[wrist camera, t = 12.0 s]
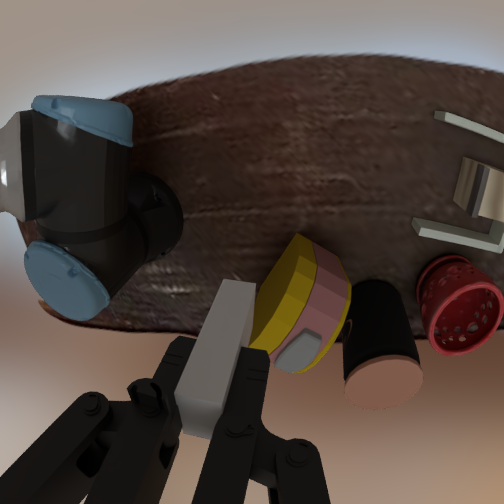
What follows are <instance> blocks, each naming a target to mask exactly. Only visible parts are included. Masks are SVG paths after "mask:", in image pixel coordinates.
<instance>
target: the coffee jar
mask: <svg viewBox="0 0 504 504" xmlns="http://www.w3.org/2000/svg"><path fill="white" fill-rule="evenodd" d="M342 342H343V368H344V380H345V390H344V394H345V396H346V398H347V400H348V401H349V402H350V403H352V404H353V405H354V406H357V407H360V408H363V409H372V410H378V409H386V408H390V407H394V406H397V405H399V404H401V403H403V402H405V401H407V400H408V399H410V398H411V397H412V396H413V395H415V394H416V393H417V391H418V390H419V389H420V387H421V385H422V382H423V379H424V377H423V370H422V368H421V366H420V360H419V355H418V351H417V347H416V344H415V341H414V337H413V334H412V331H411V327H410V324H409V321H408V318H407V315H406V311H405V308H404V305H403V302H402V299H401V297H400V295H399V293H398V292H397V291H396V289H395V288H393V287H391V286H390V285H388V284H386V283H382V282H377V281H376V282H366V283H364V284H361V285H359V286H357V287H356V288H354V289H353V290H351V303H350V306H349V310H348V313H347V316H346V319H345V322H344V325H343V327H342Z"/></svg>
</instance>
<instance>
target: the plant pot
mask: <svg viewBox="0 0 504 504" xmlns="http://www.w3.org/2000/svg"><path fill="white" fill-rule="evenodd" d="M488 291H489V292H488ZM494 295H495V297H494ZM416 298H417V302H418V304H419V306H420V311H421V317H422V323H423V327H424V330H425V333H426V335H427V338H428V340H429V342H430V344H431V346H432V347H433V348H434V350H435V351H437V352H438V353H440V354H442V355H446V356H459V355H463V354H466V353H469V352H471V351H473V350H475V349H477V348H478V347H480V346H481V345H482V344H484V343H485V342H486V341H487V340H488V339H489V338H490V337H491V336H492V335H493V333H494V332H495V331H496V329H497V327H498V326H499V324H500V321H501V319H502V316H503V312H504V298H503V295H502V293H501V291H500V289H499V288H498V287H497V285H496V284H495V283H494V282H493V281H492V279H491V278H490V277H489V276H488V275H486V274H485V273H484V272H483V271H481V270H480V269H478V268H477V267H475V266H473V265H472V264H471V262H470V261H469V260H467V259H466V258H464V257H462V256H459V255H447V256H443V257H440V258H438V259H436V260H435V261H433V262H432V263H431V264H429V265H428V266H427V268H426V269H425V270H424V271H423V273H422V274H421V276H420V278H419V280H418V283H417V287H416ZM490 301H491V303H492V308H491V309H490V306H489V304H490ZM484 304H485V310H483V305H484ZM478 312H479V317H478V318H476V314H477V313H478ZM486 316H487V317H488V320H487V322H486V323H485V324H484V322H483V321H484V318H485V317H486ZM472 324H477V325H478V330H477V331H476V332H475V333H473V334H470V333H468V331H467V329H468V327H469V326H470V325H472ZM456 328H460V329H461V332H460V333H455V331H454V330H455V329H456ZM434 329H436V330H437V331H438V332H439V334H440V337H439V336H436V335H435V333H434ZM443 329H445V330H447V332H444V331H443ZM460 337H465V338H466V340H465V341H463V342H461V341H459V338H460ZM449 338H453V341H450V340H449ZM442 341H443V342H445V343H446V344H444V343H443V342H442Z"/></svg>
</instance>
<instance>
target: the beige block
mask: <svg viewBox="0 0 504 504" xmlns="http://www.w3.org/2000/svg"><path fill="white" fill-rule="evenodd" d="M453 201H454V202H455V203H456V204H458V205H459V206H460V207H461V208H462V209H463V210H464V211H466V212H467V213H468V214H469V215H470V216H471V217H474V218H477V217H478V215H480V216H484V217H487V218H491V219H494V220H497V221H501V222H504V171H503V170H500V169H498V168H495V167H492V166H490V165H487V164H484V163H481V162H479V161H476V160H473V159H470V158H467V157H464V156H463V160H462V165H461V169H460V174H459V178H458V182H457V186H456V190H455V194H454V198H453Z"/></svg>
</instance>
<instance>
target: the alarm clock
mask: <svg viewBox="0 0 504 504" xmlns="http://www.w3.org/2000/svg"><path fill="white" fill-rule="evenodd" d="M351 288H352V286H351V284H350V282H349V279H348V277H347V276H346V274H345V271H344V269H343V267H342V265H341V262H340V260H339V258H338V256H336V255H334V254H333V253H331V252H329V251H328V250H326V249H324V248H322V247H321V246H319V245H317V244H316V243H314V242H311V240H309V239H307V238H305V237H304V236H302V235H300V234H299V233H296V234H295V236H294V237H293V239H292V240H291V242H290V243H289V245H288V246H287V248H286V249H285V251H284V252H283V254H282V255H281V257H280V258H279V260H278V261H277V263H276V264H275V266H274V267H273V269H272V270H271V272H270V273H269V275H268V276H267V278H266V279H265V281H264V282H263V284H262V285H261V287H260V290H259V293H258V296H257V298H256V301H255V304H254V315H253V327H252V332H251V336H250V340H249V344H248V348H255V349H261V350H267V353H268V355H269V358H270V362H271V363H273V364H274V366H275V367H277V368H279V369H281V370H283V371H285V372H288V373H304V372H305V371H307V370H308V369H310V368H311V367H313V366H314V365H315V364H317V363H318V362H319V361H320V359H321V358H322V357H323V356H324V355H325V354H326V352H327V351H328V350H329V349H330V347H331V346H332V345H333V343H334V342H335V340H336V338H337V336H338V334H339V332H340V331H341V329H342V327H343V325H344V322H345V319H346V316H347V313H348V310H349V306H350V303H351Z"/></svg>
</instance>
